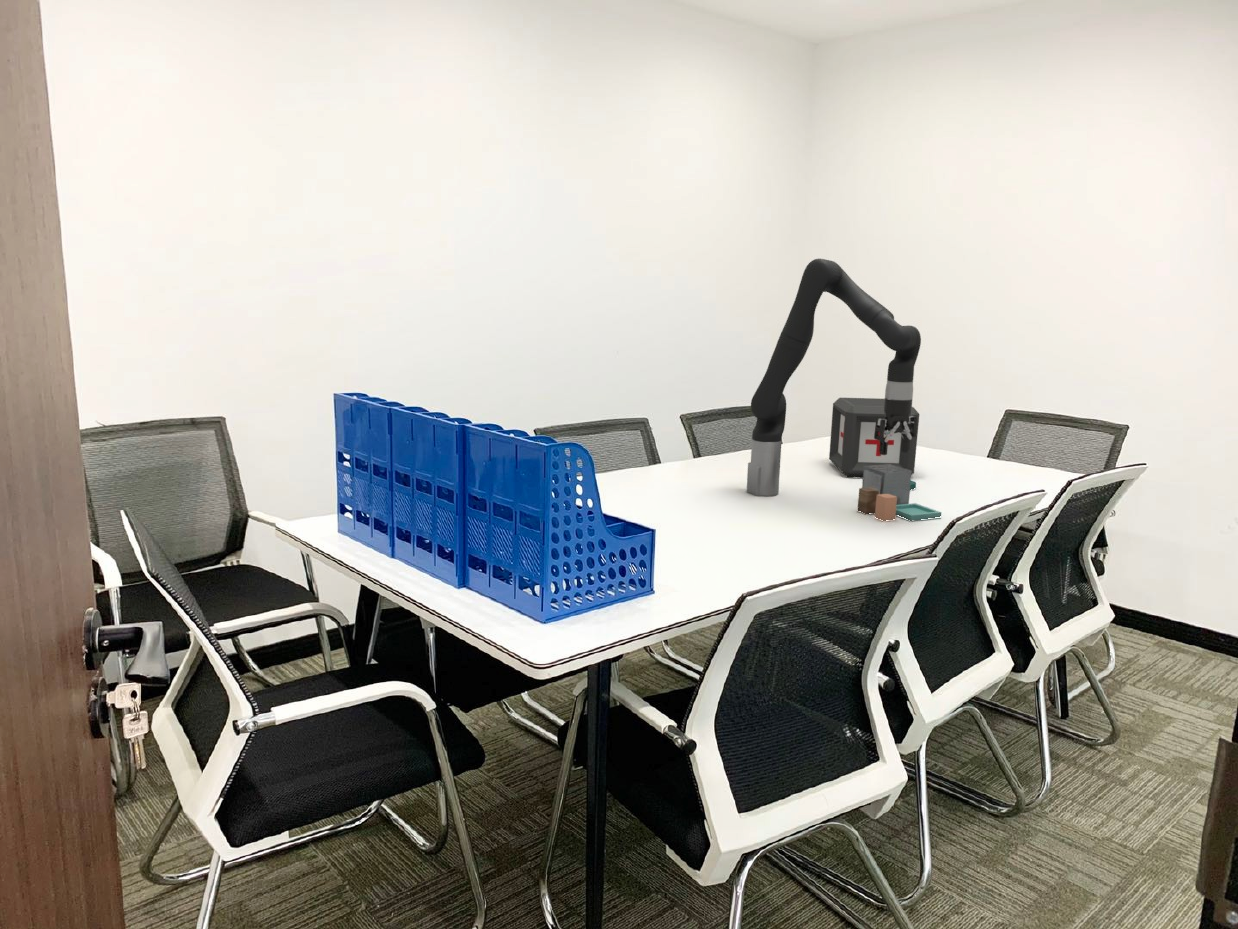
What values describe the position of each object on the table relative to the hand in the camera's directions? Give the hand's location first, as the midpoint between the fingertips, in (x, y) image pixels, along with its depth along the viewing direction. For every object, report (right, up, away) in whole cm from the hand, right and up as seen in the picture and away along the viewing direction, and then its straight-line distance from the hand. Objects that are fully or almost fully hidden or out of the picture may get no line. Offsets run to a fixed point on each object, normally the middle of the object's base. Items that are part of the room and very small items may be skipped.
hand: (893, 453), depth 259 cm
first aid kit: (+11, -6, +64) cm, 66 cm away
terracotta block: (-2, -19, +2) cm, 19 cm away
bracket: (+12, -12, +37) cm, 41 cm away
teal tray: (+8, -18, +7) cm, 21 cm away
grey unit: (+3, -15, +20) cm, 25 cm away
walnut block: (-5, -17, +9) cm, 20 cm away
